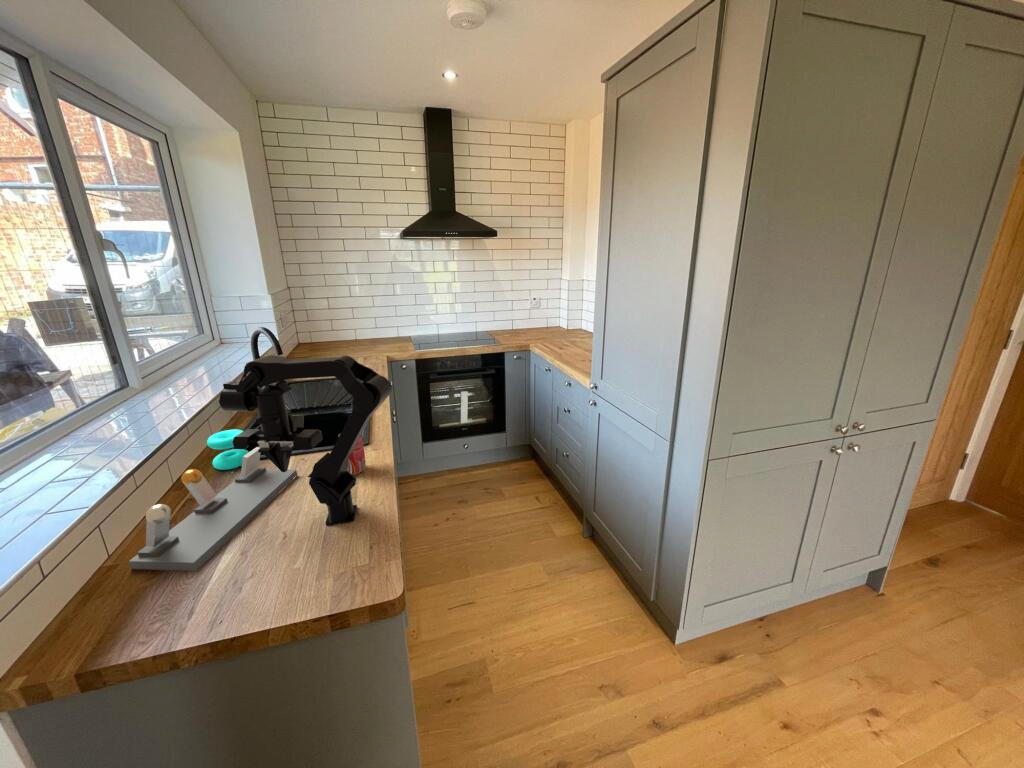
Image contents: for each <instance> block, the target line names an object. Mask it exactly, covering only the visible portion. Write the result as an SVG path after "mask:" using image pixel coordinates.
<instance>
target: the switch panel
mask: <svg viewBox="0 0 1024 768" xmlns="http://www.w3.org/2000/svg"><path fill="white" fill-rule="evenodd" d="M295 476H297V477H298V472H297V469H288V470H287V471H286V472H281V471H280V470H279V469H266V467H263V466H262V467H260V466H258V467H257V468H255V469H254V470H253V471H251V472H250V473H249V474H248V475H246V476H242V475H241V474H240V475H238V476H237V477H236V478H235V479H234V481H233V482H232V483H230V484H229V485H228V486H226V487H225V488H223V489H222V490H221V491H220V492H218V493H216V494H217V496H216V497H214V498H213V499H212V500H210V501H209V502H208V503H206V504H204V505H202V506H200V505H198V506H197V507H196V508H194V509H193V512H192V513H190V514H189V515H188V516H186V517H185V518H184V519H182V520H181V521H180V522H178V523H177V524H175V525H174V526H173V527H172V528H171V529H169V537H167V538H166V539H165V540H163V541H162V542H161V543H159V544H158V545H157V546H156V547H151V546H147V545H145V546H144V547H142V548H141V549H139V550H138V551H137V554H136V555H135V556H134V557H132V558H131V559H130V560H128V563H129V565H130V568H131V570H151V571H152V570H153V571H154V570H155V571H156V570H157V571H159V570H160V571H162V570H163V571H197V570H198V569H199V568H200V567H202V566H203V565H204V564H205V563H206V562H207V561H208V560H209V559H210V558H211V557H212V556H213V555H215V553H217V552H218V551H219V549H220V550H221V548H222V547H223V546H224V545H225V544H226V543H228V542H229V541H230V539H232V538H233V537H234V536H235V535H236V534H237V533H238V532H239V531H240V530H242V528H244V526H245V525H247V524H248V523H249V522H250V521H251V520H252V519H253V518H254V517H255V516H257V514H258V513H259V512H260V511H261V510H263V509H264V508H265V507H266V506H267V505H268V504H269V503H270V502H271V501H272V500H273V499H274V498H276V497H277V495H278V493H279V492H280V491H281V490H282V489H283V488H284V487H285V486H286V485H287V484H288V485H290V483H291V482H293V481H294V480H293V478H294V477H295ZM290 481H291V482H290ZM288 485H287V486H288ZM287 486H286V487H287ZM286 487H285V488H286ZM285 488H284V489H285ZM284 489H283V490H284ZM283 490H282V491H283ZM282 491H281V492H282ZM281 492H280V493H281ZM280 493H279V494H280Z"/></svg>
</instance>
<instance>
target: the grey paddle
mask: <svg viewBox="0 0 1024 768" xmlns="http://www.w3.org/2000/svg"><path fill="white" fill-rule="evenodd" d="M259 449H260V447H259V446H256V447H255V448H253V449H252V450H250V451H248V452H249V453H247V454H246V455H244V456H243V460H242V466H241V470H240V471H241V472H240V475H242V476H246V475H248V474H249V473H250V472H251V471H253V470H254V469H255V468H257V467H260V461H261V460H260V459H261V454H262V453H259V452H258V450H259Z"/></svg>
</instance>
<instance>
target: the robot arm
mask: <svg viewBox="0 0 1024 768" xmlns="http://www.w3.org/2000/svg"><path fill="white" fill-rule="evenodd" d="M330 377H331V378H333V377H334V378H336V380H338V381H339V382H340V384H341V385H342V387H343V388H344V390H345V391H346V392H347V393H348V394H349V395H350V396H352V400H351V413H350V415H349V417H348V418H347V420H346V422H345V424H344V426H343V428H342V430H341V432H340V433H339V434H340V436H339V435H338V436H339V437H337V440H336V442H335V443H334V445H333V448H331V449H332V450H331V451H330V452H327V453H325V454H324V455H323V456H322V457H321V458H320V459H318V460H317V461H316V462H315V463H314V465H313V467H312V471H311V473H310V474H308V475H307V477H308V478H309V481H308V485H309V486H310V488H311V490H312V492H313V493H314V496H315V497H316V498H317V500H318V502H319V504H321V505H325V506H327V507H326V508H327V512H328V513H327V517H326V520H325V523H324V524H325V525H326V526H332V525H337V524H343V523H345V524H346V523H350V522H354V521H355V519H356V513H357V511H358V510H357V509H358V505H357V504H354V503H353V497H352V492H351V490H352V489H353V488H354V487H355V486H356V483H357V477H356V476H355V475H352V474H350V473H349V472H348V471H347V469H348V458H349V456H350V455H351V453H352V451H353V449H354V447H355V445H356V443H357V442H358V440H359V438H360V436H361V437H362V435H363V433H364V430H365V428H366V427H367V424H368V423H369V421H370V420H371V417H372V416H373V415H374V413H375V412H376V411H377V410H378V409H379V408H380V407H381V406H382V404H383V403H384V402H385V401H386V400H387V398H388V397H389V396H390V395H391V393H392V390H393V387H392V385H391V382H390V381H389V379H388V378H386V376H384V375H380V374H379V373H378V372H376V371H375V370H374V369H372V368H370V367H368V366H366V365H364V364H362V363H360V362H358V361H357V360H356V359H354V358H353V357H351V356H348V355H342V356H337V357H335V356H334V357H317V358H315V357H312V358H300V359H297V358H296V359H294V358H293V359H291V358H287V357H286V356H283V355H282V356H281V355H280V356H279V355H271V354H270V355H265V356H262V357H260V358H257V359H256V358H255V359H254V360H252V361H251V360H250V361H248V362H246V363H245V366H244V367H243V375H242V376H241V378H240V380H239V382H238V381H233V380H232V381H231V380H229V381H227V382H223V384H222V386H223V389H222V390H221V392H220V394H219V400H218V404H219V406H220V408H221V409H222V410H224V411H225V412H253V411H256V409H257V414H258V415H257V416H258V418H256V419H255V424H256V425H260V428H246V429H245V430H242V431H243V432H242V433H240V434H238V435H237V436H235V437H234V438H233V441H232V443H233V447H232V448H233V449H244V450H247V448H248V447H249V446H250V444H252V443H255V444H258V447H260V449H259V450H258V452H259V453H261V454H263V456H265V457H266V458H267V459H268V460H269V461H271V462H272V463H273V464H274V465H275V466H276V467H277V469H278V470H280V471H281V472H286V471H287V470H289V465H290V461H291V456H292V452H293V450H294V449H296V450H298V451H309V450H312V449H314V448H315V447H316V446H317V445H319V443H321V442H322V441H323V440H324V437H323V433H322V431H321V430H319V429H315V428H314V429H306V428H305V429H303V428H304V427H305V426H304V425H305V424H304V422H305V418H304V417H305V414H304V415H303V414H293V413H292V411H291V410H287V404H286V400H285V394H286V393H287V394H288V392H290V391H292V390H293V387H292V386H290V385H288V384H286V383H285V382H284V381H286V380H291V379H293V380H294V379H295V380H296V379H312V378H313V379H314V378H316V379H317V378H330ZM361 381H363V382H361ZM297 428H302V429H303V430H302V431H301V432H299V433H294V432H296V431H297V430H298V429H297Z"/></svg>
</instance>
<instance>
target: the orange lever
mask: <svg viewBox="0 0 1024 768" xmlns="http://www.w3.org/2000/svg"><path fill="white" fill-rule="evenodd" d="M181 482H182V484H184V486H185V487H186V489H187V490H188V491H189V492H190V494H191V496H192V497H193V498H194V499H195V501H196V502H197V503H198V504H199V506H202V505H204V504H206V503H208V502H209V501H210V500H212V499H213V498H214V497H216V496H217V494H218V493H216V492H215V490H214V489H213V488H212V486H211V484H209V482H208V481H207V479H206V478H205V476H204V475H203V474H202V472H201V471H200V470H198V469H195V468H193V469H192V468H191V469H188V470H186V471H184V472H183V474H182V475H181Z"/></svg>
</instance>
